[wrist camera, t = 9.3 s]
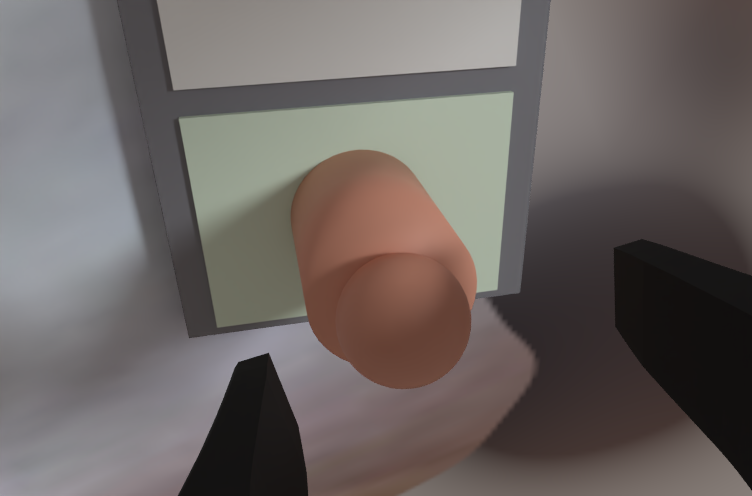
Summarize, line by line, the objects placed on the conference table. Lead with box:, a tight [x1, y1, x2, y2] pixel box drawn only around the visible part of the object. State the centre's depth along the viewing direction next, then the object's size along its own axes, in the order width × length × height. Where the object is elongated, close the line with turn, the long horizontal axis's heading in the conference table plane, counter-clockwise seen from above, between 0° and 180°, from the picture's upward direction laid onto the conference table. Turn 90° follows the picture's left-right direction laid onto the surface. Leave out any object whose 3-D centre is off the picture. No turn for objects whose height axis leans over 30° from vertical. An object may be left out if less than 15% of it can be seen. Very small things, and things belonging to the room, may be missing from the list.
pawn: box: [291, 150, 477, 389], centre depth 16 cm, size 4×4×8 cm
